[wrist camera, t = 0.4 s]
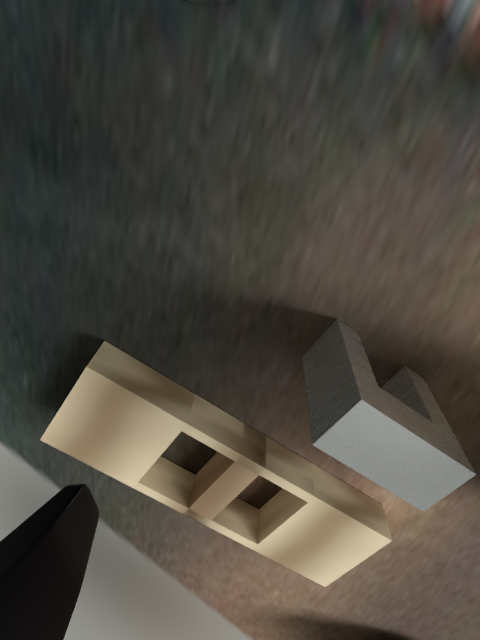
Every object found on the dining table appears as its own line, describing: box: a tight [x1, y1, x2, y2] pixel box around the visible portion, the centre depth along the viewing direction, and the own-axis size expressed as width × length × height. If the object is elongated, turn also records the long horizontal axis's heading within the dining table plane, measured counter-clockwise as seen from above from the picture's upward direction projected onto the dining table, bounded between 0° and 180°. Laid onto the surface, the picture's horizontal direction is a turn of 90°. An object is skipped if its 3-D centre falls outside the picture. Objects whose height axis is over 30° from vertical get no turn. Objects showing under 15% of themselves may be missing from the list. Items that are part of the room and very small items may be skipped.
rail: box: [40, 341, 392, 587], centre depth 25 cm, size 20×6×2 cm, turn 55°
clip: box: [302, 319, 476, 512], centre depth 19 cm, size 6×3×6 cm, turn 55°
